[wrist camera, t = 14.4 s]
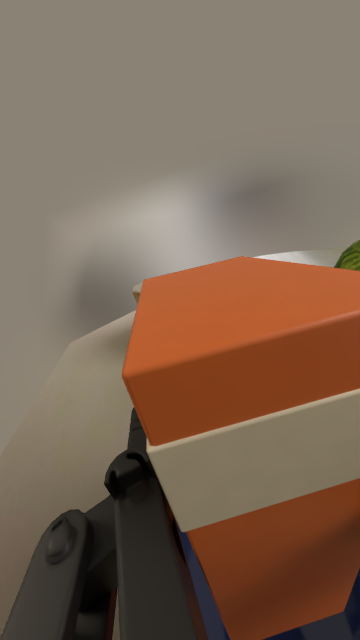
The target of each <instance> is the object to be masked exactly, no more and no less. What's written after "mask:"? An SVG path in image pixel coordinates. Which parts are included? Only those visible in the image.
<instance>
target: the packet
mask: <svg viewBox="0 0 360 640" xmlns="http://www.w3.org/2000/svg"><path fill="white" fill-rule="evenodd" d="M122 378H123V380H124V383H125V385H126V388H127V390H128V393H129V395H130V397H131V400H132V402H133V405H134V407H135V410H136V412H137V414H138V417H139V419H140V422H141V424H142V427H143V429H144V431H145V434H146V436H147V448H146V451H147V454H148V456H149V458H150V461H151V463H152V465H153V468H154V470H155V472H156V475H157V477H158V479H159V481H160V484H161V486H162V488H163V491H164V493H165V495H166V498H167V500H168V502H169V505H170V507H171V509H172V512H173V514H174V516H175V519H176V521H177V523H178V526H179V528H180V530H181V532H186V533H187V536H188V538H189V541H190V543H191V545H192V548H193V550H194V553H195V555H196V558H197V560H198V562H199V565H200V567H201V570H202V572H203V575H204V577H205V579H206V582H207V584H208V587H209V589H210V592H211V594H212V596H213V599H214V601H215V604H216V606H217V609H218V611H219V613H220V616H221V618H222V621H223V623H224V626H225V628H226V630H227V633H228V635H229V638H230V640H262V639H265V638H268V637H271V636H274V635H276V634H279V633H282V632H285V631H288V630H291V629H294V628H297V627H300V626H303V625H306V624H308V623H311V622H314V621H317V620H320V619H323V618H326V617H329V616H332V615H335V614H338V613H341V612H343V611H344V609H345V606H346V603H347V601H348V598H349V595H350V593H351V590H352V587H353V584H354V582H355V579H356V576H357V574H358V571H359V568H360V271H356V270H348V269H340V268H332V267H323V266H315V265H307V264H299V263H291V262H283V261H275V260H267V259H259V258H251V257H250V258H249V257H243V256H242V257H237V258H233V259H229V260H225V261H220V262H216V263H212V264H209V265H204V266H200V267H195V268H191V269H187V270H183V271H179V272H175V273H171V274H166V275H162V276H158V277H154V278H150V279H146V280H144V281H143V284H142V288H141V293H140V297H139V301H138V305H137V310H136V314H135V318H134V323H133V327H132V331H131V335H130V340H129V344H128V348H127V353H126V357H125V361H124V365H123V370H122Z"/></svg>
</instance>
